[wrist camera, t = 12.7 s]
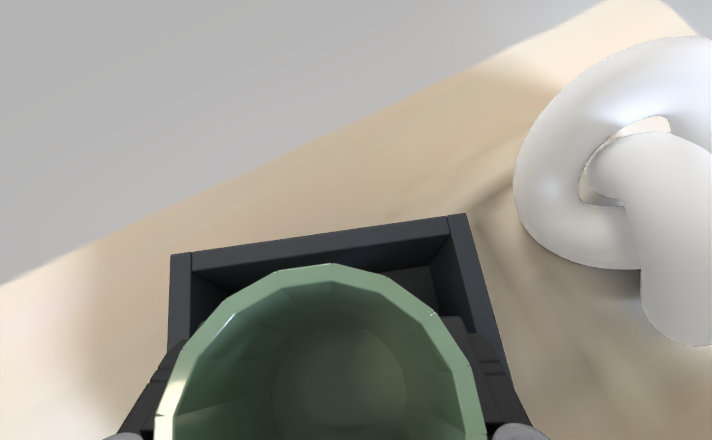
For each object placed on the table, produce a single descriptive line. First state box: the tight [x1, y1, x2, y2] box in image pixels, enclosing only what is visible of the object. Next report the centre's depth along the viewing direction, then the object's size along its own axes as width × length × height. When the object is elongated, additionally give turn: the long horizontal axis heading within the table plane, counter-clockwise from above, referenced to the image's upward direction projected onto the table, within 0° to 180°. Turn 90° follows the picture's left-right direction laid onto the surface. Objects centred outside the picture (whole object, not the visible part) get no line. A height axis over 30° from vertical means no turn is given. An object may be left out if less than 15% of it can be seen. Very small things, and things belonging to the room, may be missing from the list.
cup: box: [153, 263, 487, 440], centre depth 11 cm, size 6×6×9 cm
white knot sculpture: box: [513, 36, 712, 347], centre depth 16 cm, size 11×12×9 cm
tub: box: [167, 213, 514, 388], centre depth 15 cm, size 12×12×6 cm
